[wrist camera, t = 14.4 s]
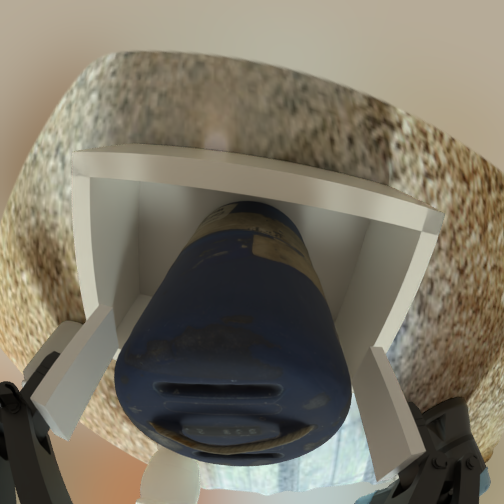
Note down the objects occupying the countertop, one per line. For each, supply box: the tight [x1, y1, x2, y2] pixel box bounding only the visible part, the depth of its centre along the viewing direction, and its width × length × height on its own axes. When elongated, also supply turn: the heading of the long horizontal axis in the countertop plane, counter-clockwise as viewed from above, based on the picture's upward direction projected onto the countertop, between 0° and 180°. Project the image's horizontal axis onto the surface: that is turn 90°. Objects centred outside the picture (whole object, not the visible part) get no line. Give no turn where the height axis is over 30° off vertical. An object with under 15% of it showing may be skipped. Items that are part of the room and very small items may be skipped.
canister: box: [114, 201, 352, 466], centre depth 16 cm, size 10×10×18 cm
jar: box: [136, 444, 200, 504], centre depth 35 cm, size 11×10×15 cm
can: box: [22, 321, 83, 387], centre depth 25 cm, size 8×8×12 cm
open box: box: [72, 143, 445, 393], centre depth 21 cm, size 23×16×9 cm
